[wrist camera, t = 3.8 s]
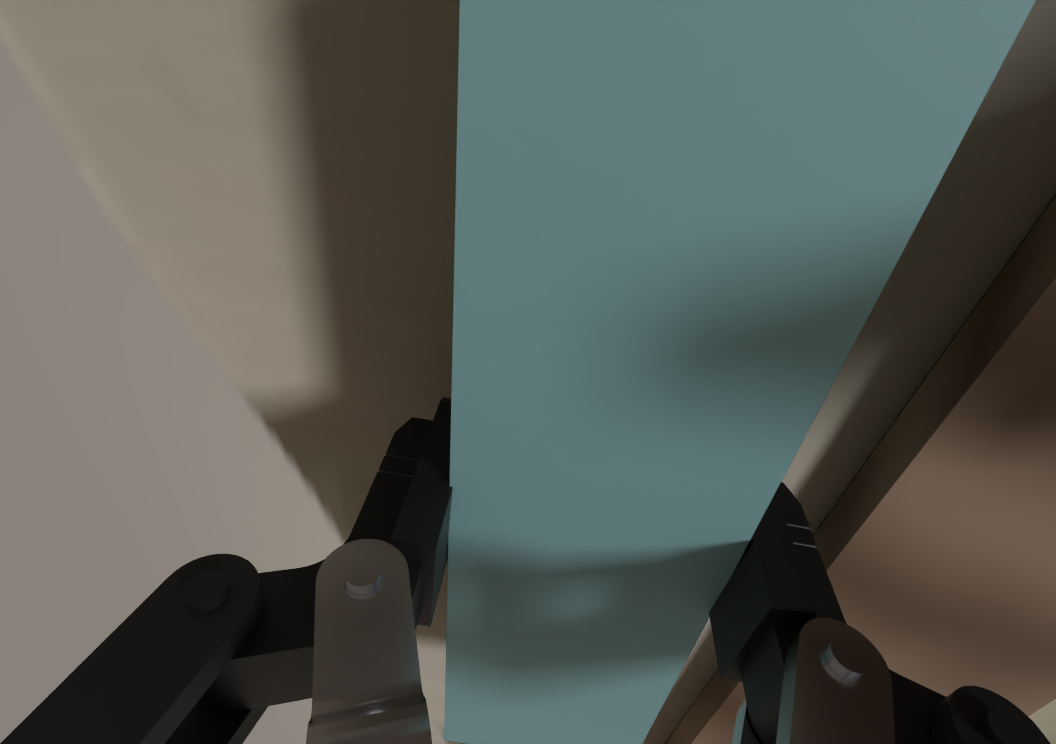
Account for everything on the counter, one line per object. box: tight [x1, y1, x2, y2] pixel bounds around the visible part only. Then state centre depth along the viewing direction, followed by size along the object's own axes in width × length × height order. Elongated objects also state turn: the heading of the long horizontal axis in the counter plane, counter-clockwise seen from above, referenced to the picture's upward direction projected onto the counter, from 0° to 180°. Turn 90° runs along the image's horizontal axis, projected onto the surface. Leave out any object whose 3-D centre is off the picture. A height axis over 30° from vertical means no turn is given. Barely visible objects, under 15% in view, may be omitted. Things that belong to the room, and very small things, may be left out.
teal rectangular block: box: [444, 0, 1036, 744], centre depth 11 cm, size 18×5×4 cm, turn 174°
